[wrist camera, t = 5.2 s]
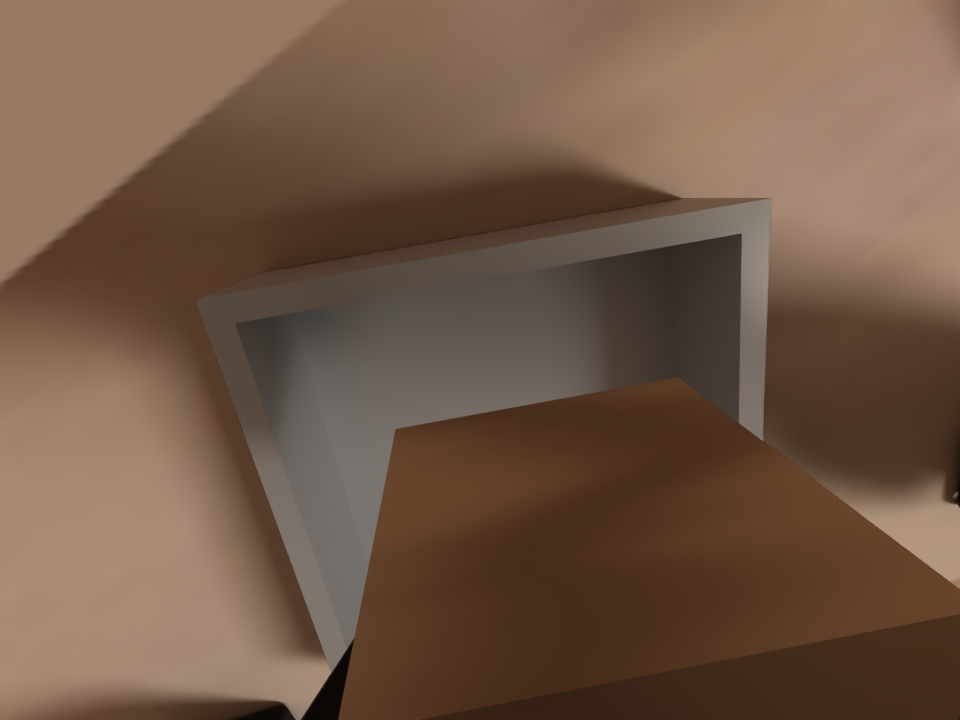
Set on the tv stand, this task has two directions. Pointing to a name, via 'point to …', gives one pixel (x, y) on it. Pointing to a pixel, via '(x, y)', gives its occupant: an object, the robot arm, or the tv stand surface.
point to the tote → (475, 354)
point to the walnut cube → (636, 577)
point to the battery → (272, 715)
